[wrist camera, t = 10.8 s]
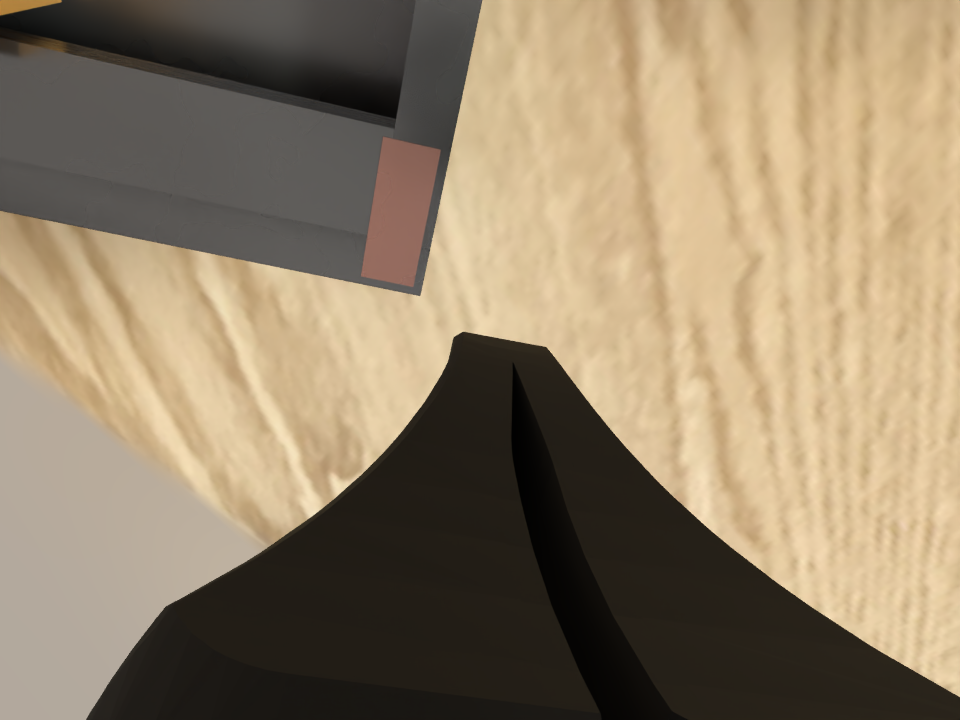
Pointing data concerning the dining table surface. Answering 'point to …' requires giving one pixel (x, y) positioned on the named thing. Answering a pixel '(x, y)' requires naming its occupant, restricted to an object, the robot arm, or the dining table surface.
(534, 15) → the dining table surface
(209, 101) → the switch box
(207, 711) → the robot arm
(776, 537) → the dining table surface
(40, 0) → the lever
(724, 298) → the dining table surface
